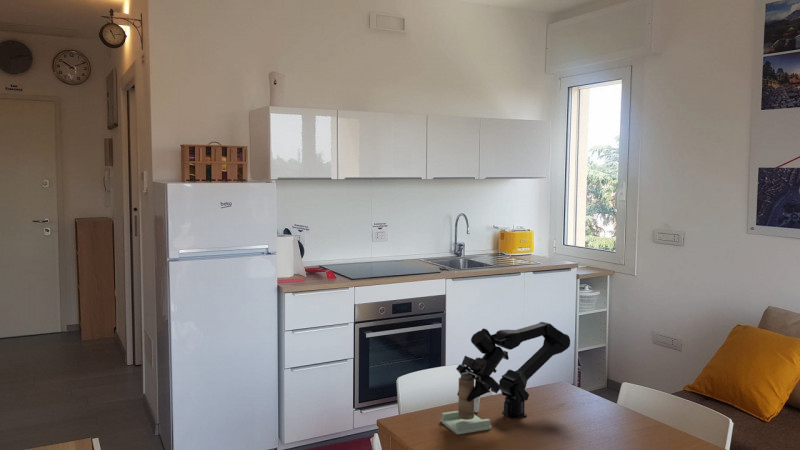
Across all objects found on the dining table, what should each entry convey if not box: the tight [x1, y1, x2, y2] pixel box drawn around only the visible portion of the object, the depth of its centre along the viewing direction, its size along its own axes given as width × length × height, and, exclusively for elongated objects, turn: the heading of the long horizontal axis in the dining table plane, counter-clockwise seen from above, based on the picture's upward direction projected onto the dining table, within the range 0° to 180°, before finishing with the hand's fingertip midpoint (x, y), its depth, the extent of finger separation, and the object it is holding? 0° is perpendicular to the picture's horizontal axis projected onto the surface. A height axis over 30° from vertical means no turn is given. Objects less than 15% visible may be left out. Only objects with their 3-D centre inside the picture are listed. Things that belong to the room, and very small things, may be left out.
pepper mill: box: [457, 373, 475, 420], centre depth 207 cm, size 5×5×15 cm
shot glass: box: [474, 396, 481, 413], centre depth 222 cm, size 7×7×7 cm
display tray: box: [439, 410, 493, 435], centre depth 207 cm, size 13×12×3 cm
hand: (462, 398), depth 206 cm, fingers closed on pepper mill, 5 cm apart
